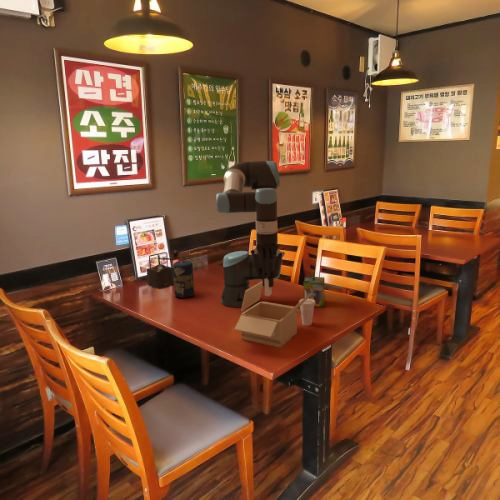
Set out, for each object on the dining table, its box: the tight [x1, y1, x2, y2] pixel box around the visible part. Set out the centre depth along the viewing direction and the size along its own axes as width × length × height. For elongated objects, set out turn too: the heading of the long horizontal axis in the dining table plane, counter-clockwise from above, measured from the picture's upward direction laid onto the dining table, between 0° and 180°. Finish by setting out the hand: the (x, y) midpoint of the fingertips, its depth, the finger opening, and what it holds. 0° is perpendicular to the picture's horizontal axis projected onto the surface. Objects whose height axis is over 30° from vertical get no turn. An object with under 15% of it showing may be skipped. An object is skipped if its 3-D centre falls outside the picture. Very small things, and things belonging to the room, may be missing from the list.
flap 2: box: [234, 314, 277, 337], centre depth 149 cm, size 15×6×1 cm
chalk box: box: [303, 270, 325, 308], centre depth 191 cm, size 9×9×15 cm
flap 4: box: [283, 293, 312, 319], centre depth 151 cm, size 8×13×1 cm
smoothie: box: [298, 290, 315, 326], centre depth 169 cm, size 6×6×14 cm
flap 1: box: [240, 280, 264, 312], centre depth 160 cm, size 8×13×1 cm
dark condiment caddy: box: [146, 250, 180, 290], centre depth 227 cm, size 16×11×18 cm
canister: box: [172, 260, 195, 299], centre depth 206 cm, size 10×10×18 cm
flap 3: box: [261, 301, 301, 313], centre depth 167 cm, size 15×6×1 cm
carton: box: [240, 301, 298, 349], centre depth 159 cm, size 16×14×10 cm
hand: (268, 294), depth 157 cm, fingers closed
